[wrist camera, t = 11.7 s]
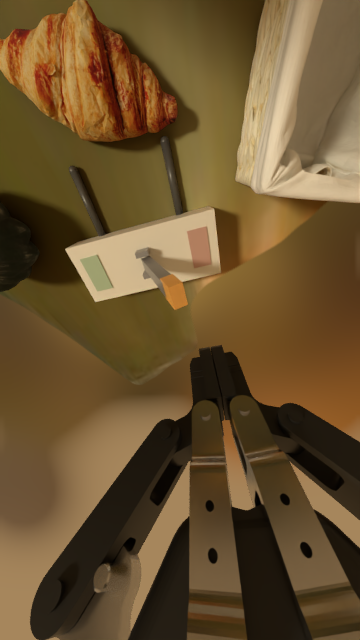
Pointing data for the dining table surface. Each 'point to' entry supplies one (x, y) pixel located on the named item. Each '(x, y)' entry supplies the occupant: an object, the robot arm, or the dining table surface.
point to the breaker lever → (166, 282)
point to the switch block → (146, 245)
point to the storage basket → (304, 102)
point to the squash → (14, 250)
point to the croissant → (86, 77)
